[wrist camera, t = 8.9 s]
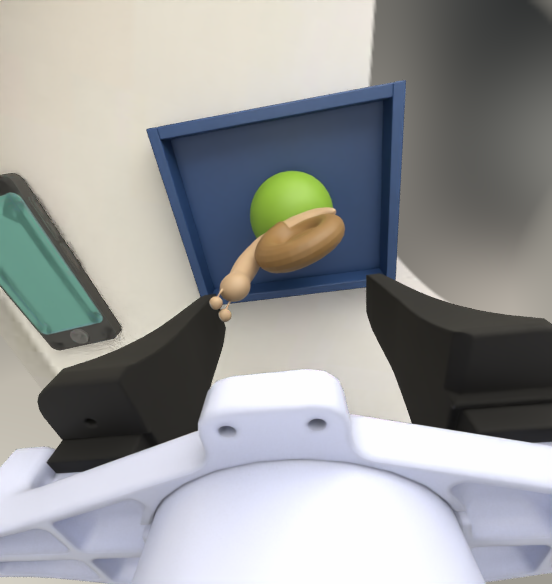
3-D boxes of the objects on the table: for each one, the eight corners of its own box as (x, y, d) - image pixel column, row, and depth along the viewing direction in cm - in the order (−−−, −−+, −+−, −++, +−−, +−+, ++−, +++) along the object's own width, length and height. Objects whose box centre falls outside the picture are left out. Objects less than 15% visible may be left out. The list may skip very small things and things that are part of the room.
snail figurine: (228, 197, 21) (170, 259, 10) (308, 151, 19) (337, 169, 9) (264, 258, 23) (247, 361, 12) (338, 222, 21) (390, 304, 11)
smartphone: (53, 352, 28) (-76, 200, 21) (62, 344, 29) (-58, 197, 22) (119, 338, 26) (6, 172, 20) (126, 330, 28) (21, 170, 21)
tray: (392, 86, 18) (406, 79, 16) (386, 271, 24) (395, 284, 22) (160, 130, 19) (145, 129, 17) (210, 293, 25) (203, 307, 23)
